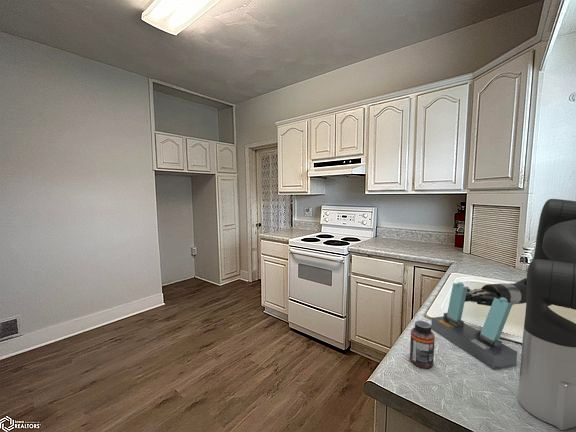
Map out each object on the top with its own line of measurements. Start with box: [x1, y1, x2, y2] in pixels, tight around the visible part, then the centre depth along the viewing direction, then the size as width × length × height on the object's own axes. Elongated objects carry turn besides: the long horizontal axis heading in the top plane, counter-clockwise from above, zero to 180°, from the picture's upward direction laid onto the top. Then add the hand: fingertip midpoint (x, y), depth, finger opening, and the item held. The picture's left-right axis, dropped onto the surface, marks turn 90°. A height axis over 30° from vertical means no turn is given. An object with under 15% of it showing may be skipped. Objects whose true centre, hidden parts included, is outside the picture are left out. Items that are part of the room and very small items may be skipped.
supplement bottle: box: [409, 320, 436, 369], centre depth 72 cm, size 6×6×11 cm
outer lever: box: [446, 281, 469, 325], centre depth 86 cm, size 4×2×14 cm, turn 13°
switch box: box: [430, 312, 518, 370], centre depth 81 cm, size 22×8×6 cm, turn 13°
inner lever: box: [479, 297, 513, 346], centre depth 75 cm, size 4×2×14 cm, turn 13°
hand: (459, 298), depth 87 cm, fingers closed
